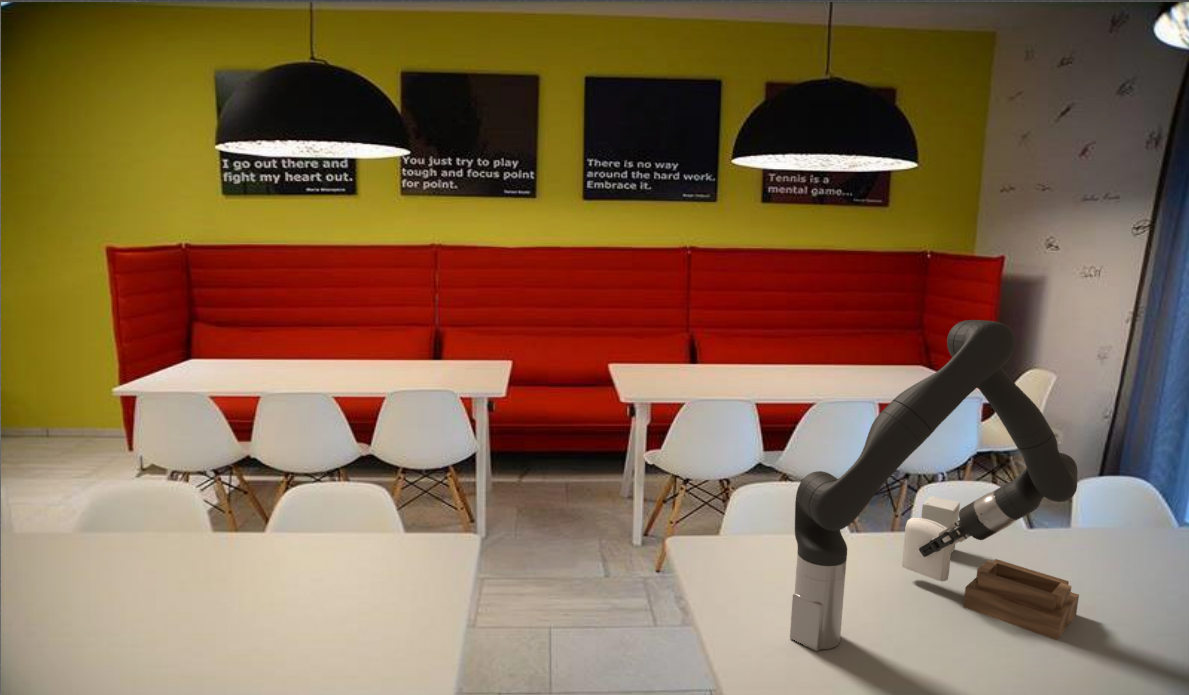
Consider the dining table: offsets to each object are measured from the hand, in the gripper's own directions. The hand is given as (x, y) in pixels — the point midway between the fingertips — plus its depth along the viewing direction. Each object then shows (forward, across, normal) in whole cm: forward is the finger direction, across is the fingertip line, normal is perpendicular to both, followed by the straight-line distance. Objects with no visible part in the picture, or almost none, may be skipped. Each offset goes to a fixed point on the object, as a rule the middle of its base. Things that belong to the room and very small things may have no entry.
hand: (927, 549), depth 177 cm
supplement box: (+10, -20, +2) cm, 23 cm away
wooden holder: (-7, -4, +20) cm, 21 cm away
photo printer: (+4, 0, +4) cm, 6 cm away
